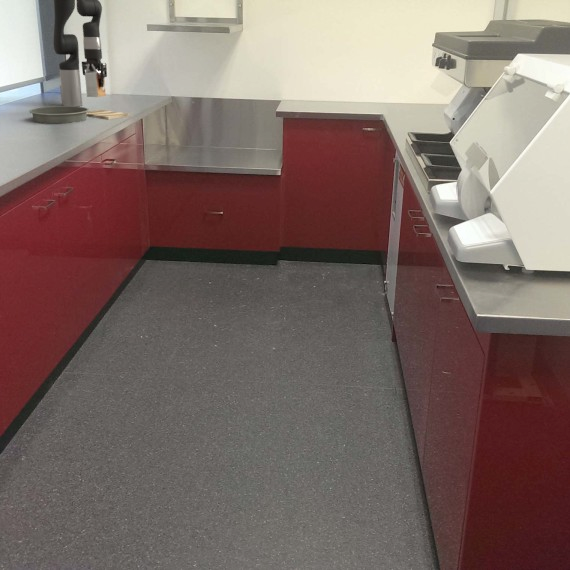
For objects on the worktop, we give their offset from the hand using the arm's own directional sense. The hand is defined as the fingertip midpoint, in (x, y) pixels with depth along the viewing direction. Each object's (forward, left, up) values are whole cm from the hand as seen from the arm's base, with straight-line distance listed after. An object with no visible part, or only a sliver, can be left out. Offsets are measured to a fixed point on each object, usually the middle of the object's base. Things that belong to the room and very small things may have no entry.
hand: (95, 86), depth 307 cm
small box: (0, 0, -5) cm, 5 cm away
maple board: (+5, 0, -12) cm, 13 cm away
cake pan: (0, -21, -13) cm, 25 cm away
